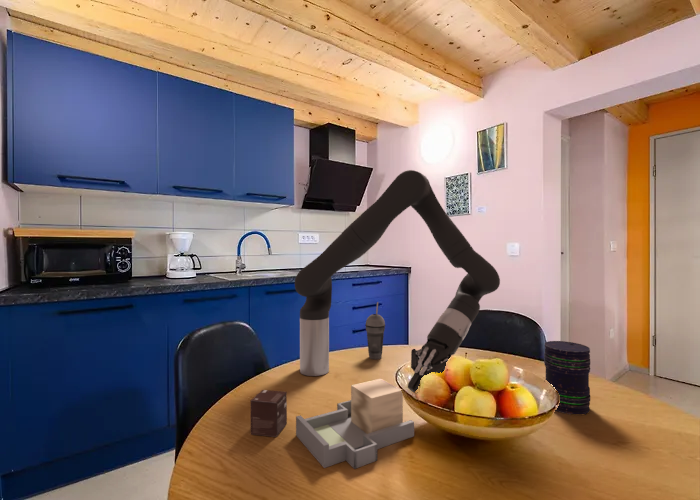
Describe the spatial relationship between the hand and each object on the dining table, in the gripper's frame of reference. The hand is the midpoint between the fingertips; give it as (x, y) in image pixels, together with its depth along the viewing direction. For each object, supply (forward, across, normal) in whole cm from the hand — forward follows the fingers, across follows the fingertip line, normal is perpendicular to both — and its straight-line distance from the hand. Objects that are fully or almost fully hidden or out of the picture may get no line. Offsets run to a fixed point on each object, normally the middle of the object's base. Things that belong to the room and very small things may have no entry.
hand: (411, 390), depth 83 cm
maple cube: (+11, 0, -3) cm, 11 cm away
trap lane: (+15, 0, -6) cm, 16 cm away
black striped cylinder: (-22, +15, +31) cm, 41 cm away
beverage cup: (-9, -42, +18) cm, 47 cm away
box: (+26, -12, -16) cm, 33 cm away
